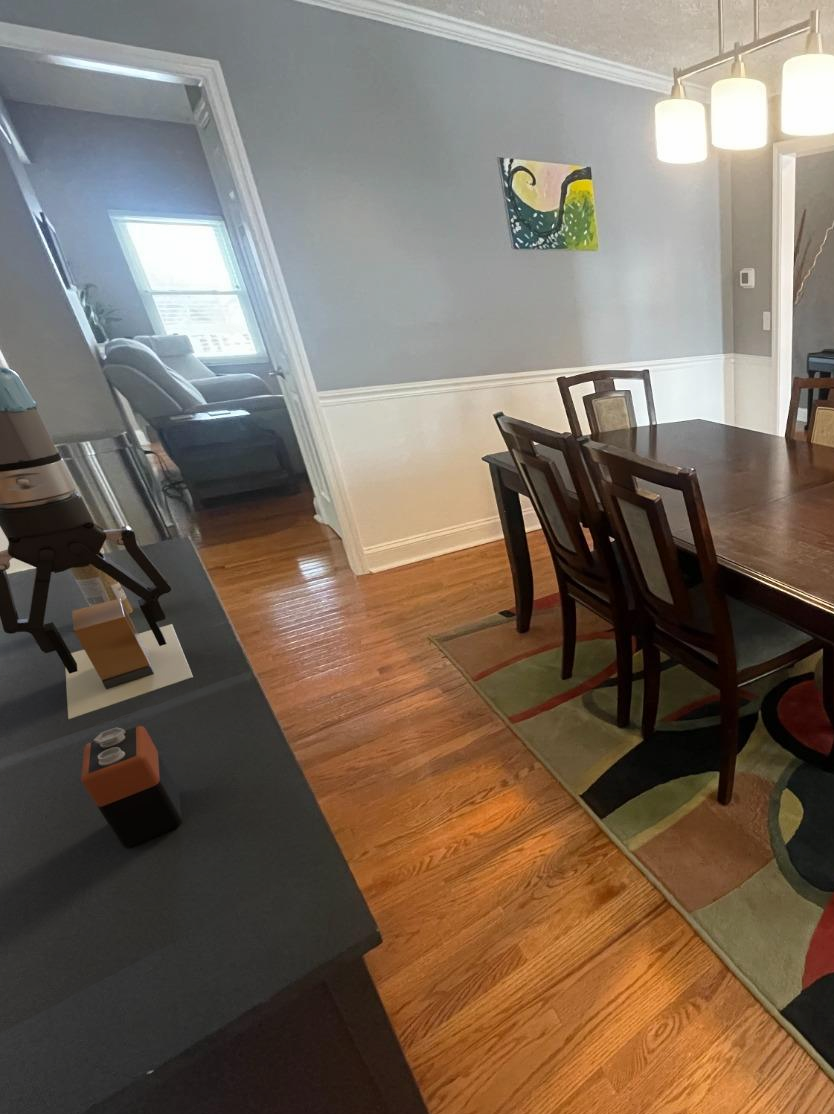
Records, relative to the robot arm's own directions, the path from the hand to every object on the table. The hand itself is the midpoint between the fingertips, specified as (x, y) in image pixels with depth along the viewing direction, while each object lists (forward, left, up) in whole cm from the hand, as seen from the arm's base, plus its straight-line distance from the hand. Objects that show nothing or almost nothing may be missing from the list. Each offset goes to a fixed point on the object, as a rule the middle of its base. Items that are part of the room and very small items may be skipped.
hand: (119, 654), depth 83 cm
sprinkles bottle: (-17, +17, -4) cm, 25 cm away
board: (-1, +1, -4) cm, 4 cm away
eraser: (0, 0, -3) cm, 3 cm away
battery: (+26, -27, -4) cm, 37 cm away
